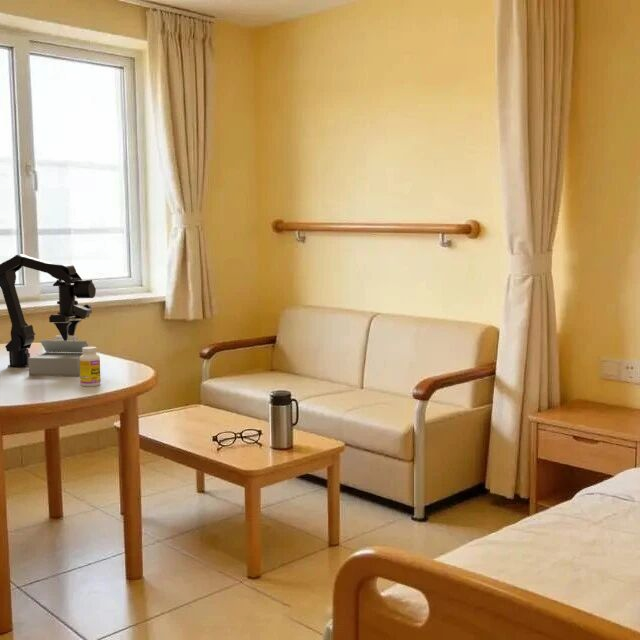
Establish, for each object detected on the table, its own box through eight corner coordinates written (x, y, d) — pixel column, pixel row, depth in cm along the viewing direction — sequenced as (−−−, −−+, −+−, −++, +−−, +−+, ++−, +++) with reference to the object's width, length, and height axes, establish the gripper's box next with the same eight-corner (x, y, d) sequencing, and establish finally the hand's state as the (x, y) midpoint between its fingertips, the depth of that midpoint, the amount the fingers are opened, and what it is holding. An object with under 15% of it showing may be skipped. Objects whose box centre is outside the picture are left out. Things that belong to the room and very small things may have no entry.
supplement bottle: (91, 387, 260) (90, 349, 258) (76, 385, 262) (74, 348, 261) (104, 383, 266) (103, 346, 264) (89, 382, 268) (88, 345, 267)
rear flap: (40, 341, 287) (42, 333, 289) (46, 352, 292) (49, 344, 295) (86, 341, 286) (88, 333, 288) (91, 352, 291) (93, 344, 293)
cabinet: (29, 375, 279) (28, 357, 279) (46, 367, 293) (45, 351, 292) (77, 376, 278) (76, 358, 277) (92, 368, 291) (91, 352, 291)
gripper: (77, 299, 280) (78, 342, 281) (97, 297, 298) (99, 337, 299) (47, 299, 281) (49, 342, 282) (69, 297, 300) (71, 337, 301)
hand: (68, 339), depth 291 cm, fingers open, 5 cm apart
